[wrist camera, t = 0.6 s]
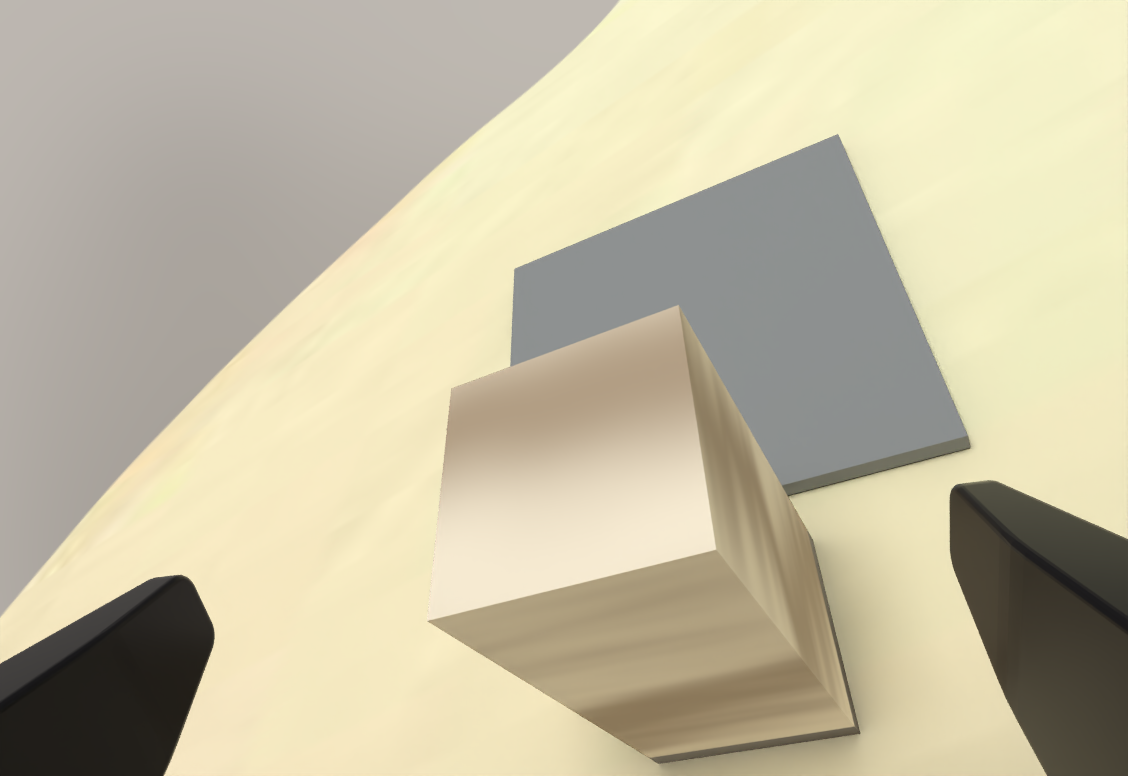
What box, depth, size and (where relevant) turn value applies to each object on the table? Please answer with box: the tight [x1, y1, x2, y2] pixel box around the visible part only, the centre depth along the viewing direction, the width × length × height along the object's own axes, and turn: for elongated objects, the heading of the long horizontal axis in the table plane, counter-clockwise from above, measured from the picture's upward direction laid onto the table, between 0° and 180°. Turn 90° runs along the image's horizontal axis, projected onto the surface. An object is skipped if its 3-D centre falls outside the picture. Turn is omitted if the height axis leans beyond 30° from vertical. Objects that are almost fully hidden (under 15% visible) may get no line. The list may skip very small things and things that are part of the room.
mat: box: [510, 134, 970, 496], centre depth 27 cm, size 14×14×1 cm
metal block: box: [427, 305, 860, 764], centre depth 17 cm, size 5×5×10 cm
